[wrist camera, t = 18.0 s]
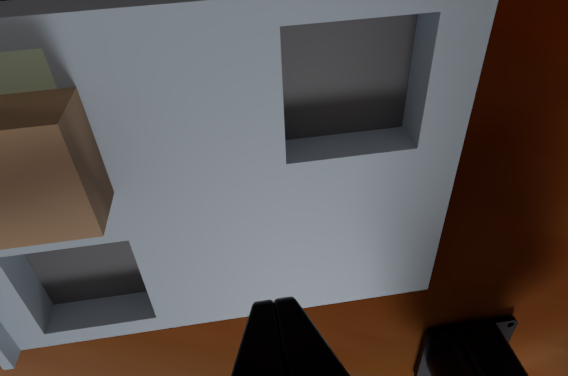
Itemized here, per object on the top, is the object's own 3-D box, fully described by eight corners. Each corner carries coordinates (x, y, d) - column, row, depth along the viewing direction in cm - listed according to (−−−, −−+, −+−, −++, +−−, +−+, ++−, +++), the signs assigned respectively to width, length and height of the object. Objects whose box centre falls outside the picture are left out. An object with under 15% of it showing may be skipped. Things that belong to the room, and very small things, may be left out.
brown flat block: (114, 192, 18) (103, 236, 16) (-5, 207, 17) (-32, 254, 15) (76, 87, 15) (57, 124, 13) (-68, 101, 14) (-110, 142, 12)
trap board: (414, 262, 26) (435, 304, 24) (22, 318, 24) (3, 369, 22) (475, -38, 16) (521, -18, 14) (-181, 15, 14) (-256, 50, 12)
